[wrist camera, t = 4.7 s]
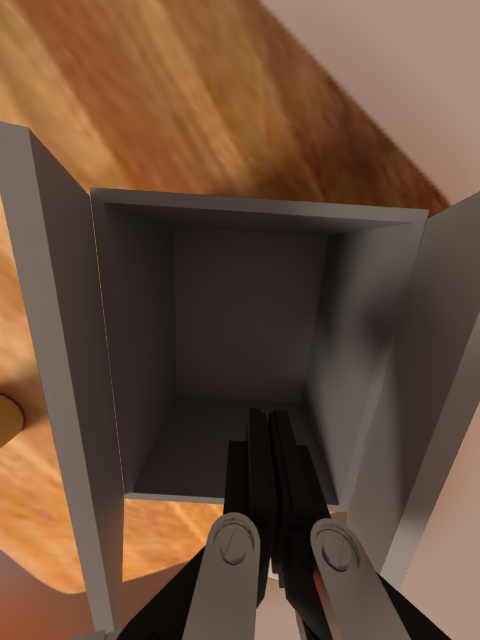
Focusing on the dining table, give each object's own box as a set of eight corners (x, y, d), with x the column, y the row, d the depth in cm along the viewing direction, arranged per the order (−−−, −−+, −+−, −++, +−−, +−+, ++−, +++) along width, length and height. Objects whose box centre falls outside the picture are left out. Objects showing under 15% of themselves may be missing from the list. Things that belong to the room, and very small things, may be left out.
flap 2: (427, 218, 11) (443, 218, 11) (347, 508, 17) (356, 512, 16) (536, 161, 4) (583, 158, 4) (341, 675, 10) (357, 686, 10)
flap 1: (124, 495, 17) (114, 498, 16) (89, 196, 11) (74, 194, 11) (119, 662, 10) (104, 671, 10) (28, 127, 4) (-16, 118, 4)
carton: (168, 219, 22) (89, 187, 11) (334, 230, 22) (429, 209, 11) (173, 396, 28) (125, 498, 17) (304, 405, 28) (346, 511, 17)
